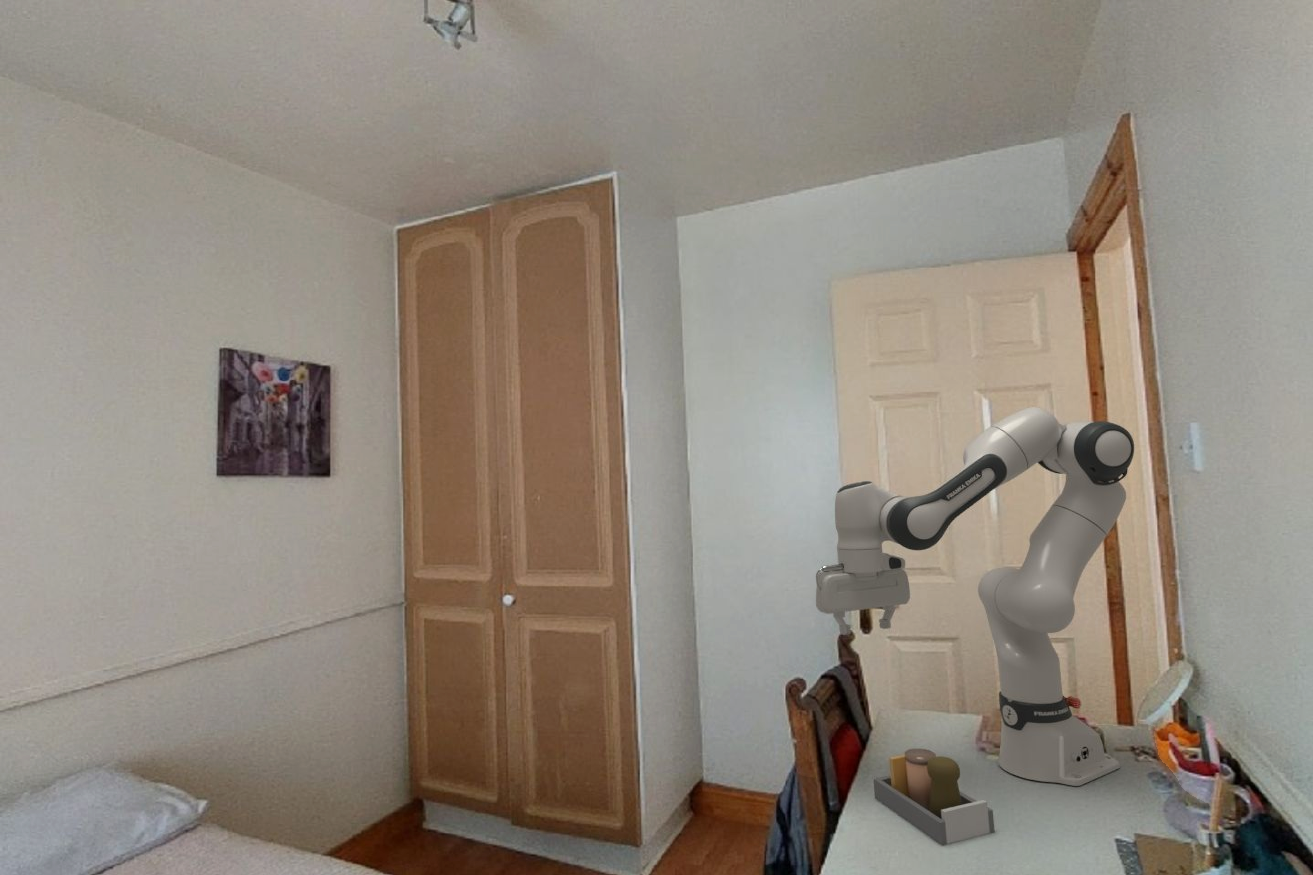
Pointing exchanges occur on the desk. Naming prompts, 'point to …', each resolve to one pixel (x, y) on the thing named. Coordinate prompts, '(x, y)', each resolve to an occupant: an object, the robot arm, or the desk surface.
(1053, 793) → the desk surface
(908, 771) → the terracotta jar
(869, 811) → the desk surface
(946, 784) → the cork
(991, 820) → the gray open box
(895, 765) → the block
